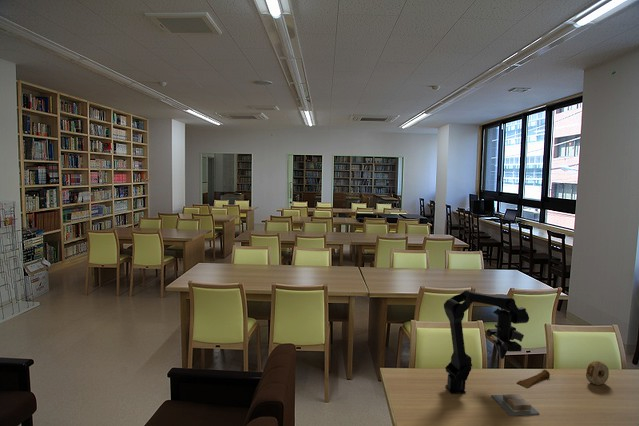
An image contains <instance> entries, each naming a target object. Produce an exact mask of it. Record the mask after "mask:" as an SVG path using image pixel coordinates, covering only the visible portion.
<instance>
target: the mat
mask: <svg viewBox="0 0 639 426" xmlns="http://www.w3.org/2000/svg"><path fill="white" fill-rule="evenodd" d="M503 395H504V394H491V395H490V396H491V398H492V399H493V400H495V402H496V403H498V405H499V406H500V407H501V408H503V410H504V411H505V412H506V413H507V414H508V415H509V416H513V417H514V416H530V415H531V416H532V415H534V416H535V415H540V414H541V413H540V412H539V411H538V410H537V409H536V408H535V407H533V405H531V411H516V412H514V411H513V410H512V409H511V408H510V407H509V406H508V405H507V404H506V403H505V402H504V401H503Z"/></svg>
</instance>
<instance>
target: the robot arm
mask: <svg viewBox="0 0 639 426" xmlns="http://www.w3.org/2000/svg"><path fill="white" fill-rule="evenodd" d="M473 303H478V304H483V305H491V306H495V307H497V308H496V309H495V310H494V311H492V312H493V314H494V315H496V316H497V320H496V324H494V327H495V328H488V329H486V330H485V332H486V333H485V335H486V336H487V337H488V338H491V337H492V336H493V338H494V339H493V340H492V343H493V344H494V346H495V348H496V352H497V353H498V357H499V358H500V359H501V360H504V359H505V356H506V355H507V353H508V352H511V353H512V352H513V353H514V352H515V353H516V352H522V348H523V347H522V345H521V344H520V343H518V342H517V341H519V342H522V341H523V339H524V337H525V335H524V334H523V333H522V332H520V331H519V330H517V328H516V326H513V325H512V324H514V325H516V324H517V325H518V324H527V323H528V322H529V321H530V316H529V314H528V312H527V309H526V308H525V307H523V306H522V307H518V306H517V303H516V301H515V299H514V298H513V297H510V296H507V295H505V294H502V293H501V294H499V293H498V294H493V295H492V294H487V293H482V292H477V291H472V290H471V291H470V290H469V289H467V290H464V291H462V292H461V293H458V294H456V295H454V296H452V297H450V298H449V299H447V300H445V301H444V302H443V310H444V312H445V315H446V317H447V319H448V321H449V326H450V328H449V329H450V333H451V334H450V335H451V343H452V350H453V352H452V353H451V357H450V362H449V363H448V364H447V365H446V366H445V367H444V368H445V372H446V373H448V374H447V384H445V388H447V390H448V391H449V392H450V394H466V393H467V391H466V383H467V382H466V381H467V380H468V377H469V374H470V372H472V367H473V363H472V357H471V356H470V355H468V354H467V353H466V347H465V339H464V331H463V330H464V329H463V323H462V322H463V320H464V318H465V312H466V311H467V310H469V309H470V307H471V305H472V304H473ZM514 340H516V341H514Z"/></svg>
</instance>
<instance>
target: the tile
mask: <svg viewBox="0 0 639 426" xmlns="http://www.w3.org/2000/svg"><path fill="white" fill-rule="evenodd" d="M502 395H503V401H504V402H505V403H506V404H507V405H508V406H509V407H510V408H511V409H512V410H513V411H514V412H516V411H531V406H532V404H531V403H530V402H529V401H527V400H526V399H525V398H524V397H523V396H522V395H521V394H520V393H512V394H511V393H510V394H509V393H508V394H505V393H504V394H502Z"/></svg>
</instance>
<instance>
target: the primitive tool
mask: <svg viewBox="0 0 639 426" xmlns="http://www.w3.org/2000/svg"><path fill="white" fill-rule="evenodd" d="M545 378H551V374H550V372H549V371H548V370H547V369H543V370H542V371H541V372H540V373H537V374H535V375H533V376H531V377H528V378H526V379H522V380H519V381H517V382H516V385H518V386H520V387H522V388H525V389H529V388H531V387H532V386H533V385H535V384H537V383H538V382H540V381H541V380H543V379H545Z"/></svg>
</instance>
